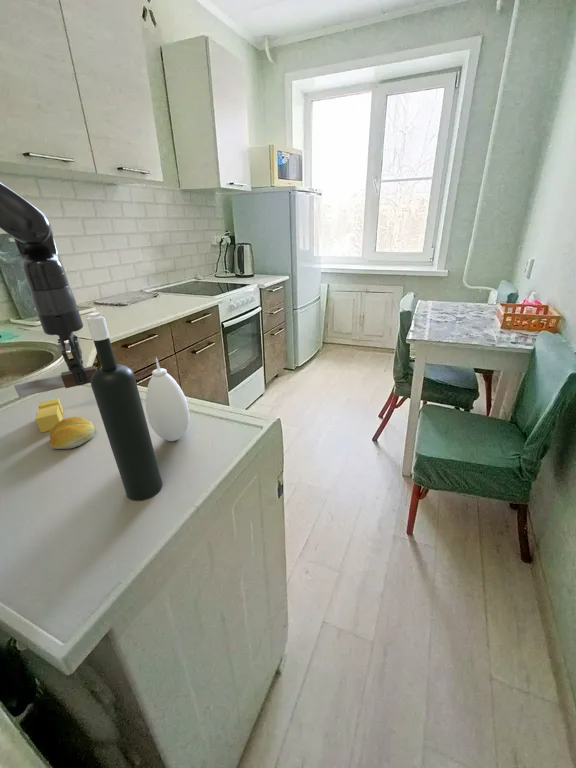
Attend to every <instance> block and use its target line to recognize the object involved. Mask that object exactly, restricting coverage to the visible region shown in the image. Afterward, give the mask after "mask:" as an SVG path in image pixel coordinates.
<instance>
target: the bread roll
mask: <svg viewBox="0 0 576 768" xmlns="http://www.w3.org/2000/svg"><path fill="white" fill-rule="evenodd" d="M95 431H96V428H95V426H94V424H93V422H91V420H89V419H87V418H86V417H82V416H69V417H66V418H63V420H61V421H60V422H58V423H57V424H56V425H55V426H54V427H53V428H52V429H51V430H50V431H49V445H50V447H51V448H52V449H55V450H68V449H74V448H78V447H80V446H81V445H83V444H85V443H87V442H88V441H89V440H91V439H92V438H93V436H94V435H95Z"/></svg>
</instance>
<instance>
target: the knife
mask: <svg viewBox="0 0 576 768" xmlns="http://www.w3.org/2000/svg"><path fill="white" fill-rule="evenodd" d="M83 370H84V373H85V376H86V379H87V384H91V377H92V375H93V373H94V372H95V371H96V370H97V368H96V365H92V366H86V367H84V368H83ZM87 384H86V385H87ZM13 386H14V389H15V391H16V394H17V396H18V398H22V397H28V396H32V395H36V394H41V393H46V392H49V391H55V390H58V389H63V388H65V389H70V388H74V387H79V386H78V385H77V384H76V382H75V379H74V376H73V373H72V371H71V372H70V370H67V371H62V372H61V374H59V375H53V376H48V377H43V378H37V379H33V380H30V381H25V382H19V383H15V384H13Z"/></svg>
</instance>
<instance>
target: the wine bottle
mask: <svg viewBox="0 0 576 768" xmlns="http://www.w3.org/2000/svg"><path fill="white" fill-rule="evenodd" d="M84 317H85V321H86V323H87V327H88V330H89V334H90V337H91V340H92V341H93V343H94V347H95V350H96V354H97V357H98V358H97V359H98V362H99V364H100V367H99V368H98V369H96V371H95V372H94V373H93V375H92V377H91V383H90V386H91V389H92V392H93V395H94V398H95V402H96V405H97V408H98V411H99V414H100V417H101V421H102V423H103V426H104V430H105V433H106V435H107V439H108V442H109V445H110V448H111V452H112V454H113V457H114V460H115V464H116V467H117V470H118V474H119V476H120V479H121V482H122V486H123V488H124V491H125V495H126V497H127V498H128V499H129V500H131V501H135V502H139V501H146V500H148V499H151V498H152V497H154V496H156V495H157V494H159V492H160V491H161V489H162V487H163V480H162V476H161V472H160V469H159V464H158V460H157V457H156V453H155V449H154V446H153V445H154V444H153V442H152V437H151V435H150V431H149V430H150V429H149V426H148V422H147V418H146V415H145V410H144V407H143V403H142V399H141V396H140V395H141V394H140V392H139V388H138V383H137V380H136V375H135V373H134V371H133V370H132V369H131V367H129V366H127V365H124V364H120V363H119V364H118V363H117V361H116V357H115V354H114V349H113V346H112V343H111V340H110V337H111V336H110V332H109V330H108V325H107V322H106V319H105V315H104V312H97V311H96V312H91V313H88V314H84Z"/></svg>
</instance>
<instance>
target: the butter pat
mask: <svg viewBox="0 0 576 768" xmlns="http://www.w3.org/2000/svg"><path fill="white" fill-rule="evenodd" d="M55 405H58V406H59V409H60V412H61V414H62V416H64V409H63V405H62V403H61V401H60V398H59V397H56V398H51V399H47V400H42V401H39V402H38V406H37V407H38V409H42V408H47V407H51V406H55Z"/></svg>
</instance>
